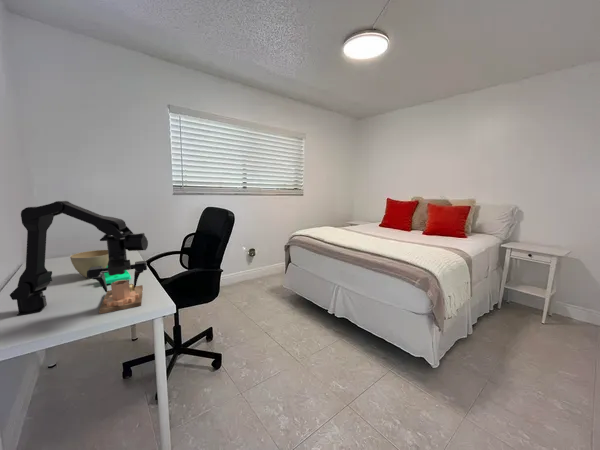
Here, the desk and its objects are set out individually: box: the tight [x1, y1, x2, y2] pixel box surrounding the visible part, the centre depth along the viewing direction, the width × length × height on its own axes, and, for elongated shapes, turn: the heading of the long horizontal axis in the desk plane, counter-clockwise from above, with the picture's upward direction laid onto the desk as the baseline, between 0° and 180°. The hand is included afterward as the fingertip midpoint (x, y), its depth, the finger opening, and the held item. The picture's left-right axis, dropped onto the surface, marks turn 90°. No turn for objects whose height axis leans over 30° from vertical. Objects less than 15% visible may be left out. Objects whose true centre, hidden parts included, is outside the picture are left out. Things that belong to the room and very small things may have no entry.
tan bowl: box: [69, 249, 109, 279], centre depth 134 cm, size 18×18×12 cm
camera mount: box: [104, 265, 132, 285], centre depth 124 cm, size 12×8×10 cm, turn 132°
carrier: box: [98, 283, 144, 315], centre depth 104 cm, size 13×21×6 cm, turn 31°
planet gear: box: [103, 279, 139, 307], centre depth 99 cm, size 11×11×8 cm
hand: (121, 289), depth 99 cm, fingers open, 9 cm apart
